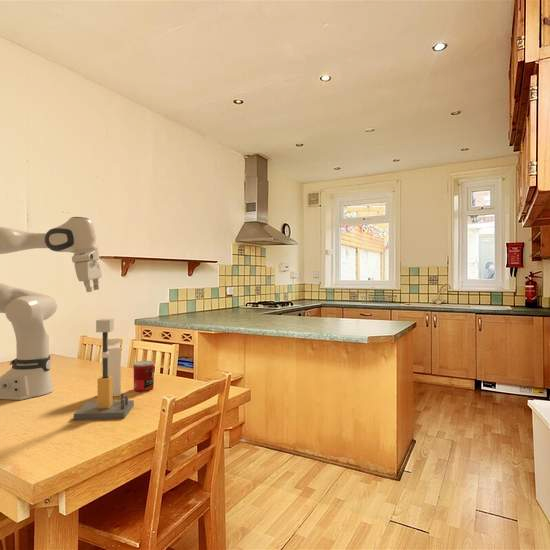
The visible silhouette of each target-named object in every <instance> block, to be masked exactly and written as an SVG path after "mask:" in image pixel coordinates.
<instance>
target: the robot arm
mask: <svg viewBox="0 0 550 550" xmlns="http://www.w3.org/2000/svg"><path fill="white" fill-rule="evenodd" d="M96 240H97V235H96V230H95V227H94V224H93V222H92V220H91V219H90V218H87V217H83V216H82V217H81V216H72V217H70V218H69V219H68V220H67V221H66V222H64V223H62V224H61V225H58V226H56V227H54V228H51V229H48V231H47V232H46V233H43V232H42V233H41V232H39V233H38V232H37V233H35V232H29V231H23V230H18V229H15V228H10V227H4V226H0V255H4V254H5V255H6V254H10V253H16V252H21V251H27V250H34V249H35V250H36V249H49V250H50V251H52V252H53V251H54V252H56V253H57V252H58V253H72V254H73V256H71V260H72V263H73V264H74V269H75V275H76V277H77V279H78V282H82V283H83V285H84V287H85V291H86V293H91V292H93V290H94V291H98V290H99V289H100V285H99V284H100V282H99V281H100V280H99V279H101V278H103V277H102V276H103V275H102V269H101V264H100V262H99V260H100V259H101V258H100V254H99V248H98V245H97V241H96ZM91 280H92V283H93V286H92V285H91ZM57 306H58V305H57V301H56V300H55V299H54V298H53V297H51V296H49V295H46V294H42V293H38V292H35V291H31V290H27V289H24V288H20V287H14V286H11V285H8V284H5V283H2V282H0V314H1V313H2V314H5V317H6V319H7V320H8V321H9V322H10V323H11V326H12V328H13V331H14V335H15V342H16V347H15V348H16V358H14V359H12V360H11V361H9V366H11V368H10V369H8V370H7V371H6V372H5V373H4V374H2V375H1V376H0V400H9V401H10V400H13V401H14V400H15V401H16V400H17V401H19V400H20V401H22V400H26V399H30V398H35V397H41V396H44V395H47V394H49V393H51V392H53V391H54V390H55V388H54V386H53V382H52V377H51V365H52V362H51V361H52V360H51V355H50V337H49V334H48V333H47V332H46V329H45V326H44V321H46V320H47V319H49V318H51V317H52V316H54V314H56V311H57V309H58V307H57Z"/></svg>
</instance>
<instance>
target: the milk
mask: <svg viewBox="0 0 550 550" xmlns="http://www.w3.org/2000/svg"><path fill="white" fill-rule="evenodd" d="M101 350H102V351H103V345H102V349H101ZM102 351H101V352H102ZM108 356H109V357H108V376H113V396H114V397H119V396H120V397H121V393H122V392H121V391H122V390H121V389H122V387H121V383H122V381H121V376H122V375H121V370H122V369H121V366H122V365H121V362H122V361H121V343H120V338H119V337H118V338H117V337H116V338H108ZM101 360H102V367H101V368H102V370H101V371H103V358H102V357H101Z"/></svg>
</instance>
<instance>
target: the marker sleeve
mask: <svg viewBox="0 0 550 550" xmlns="http://www.w3.org/2000/svg"><path fill="white" fill-rule="evenodd" d="M96 380H97V402H98V409H103V408H110V407H111V406H112V405H113V401H114V397H113V376H108V378H103V375H101V376H100V377H99V378H97V379H96Z"/></svg>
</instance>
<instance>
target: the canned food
mask: <svg viewBox="0 0 550 550" xmlns="http://www.w3.org/2000/svg"><path fill="white" fill-rule="evenodd" d="M154 363H155V362H154V361H152V360H139V361H136V362H134V363H133V389H134V391H135V392H137V393H144V392H145V391H147V392H149V391H150V390H151V391H153V390H154V386H155V379H154V378H155V372H154V371H155V370H154V369H155V368H154V367H155V366H154ZM145 393H146V392H145Z"/></svg>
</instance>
